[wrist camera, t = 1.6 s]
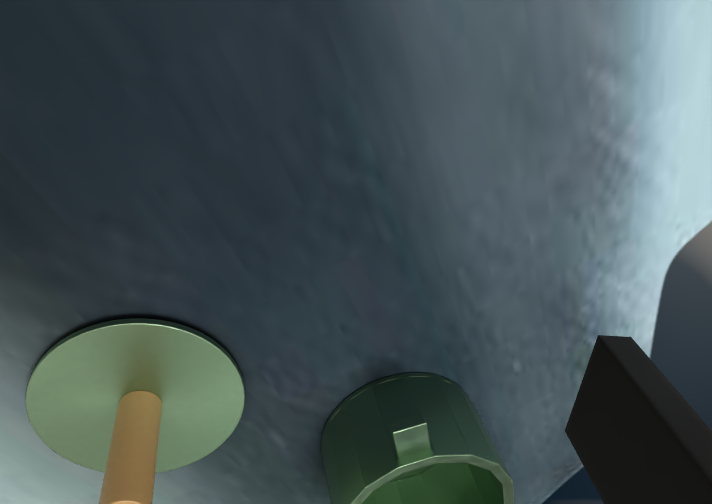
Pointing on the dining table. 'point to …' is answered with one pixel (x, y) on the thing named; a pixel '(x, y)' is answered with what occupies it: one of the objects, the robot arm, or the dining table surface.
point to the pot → (412, 446)
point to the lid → (135, 401)
